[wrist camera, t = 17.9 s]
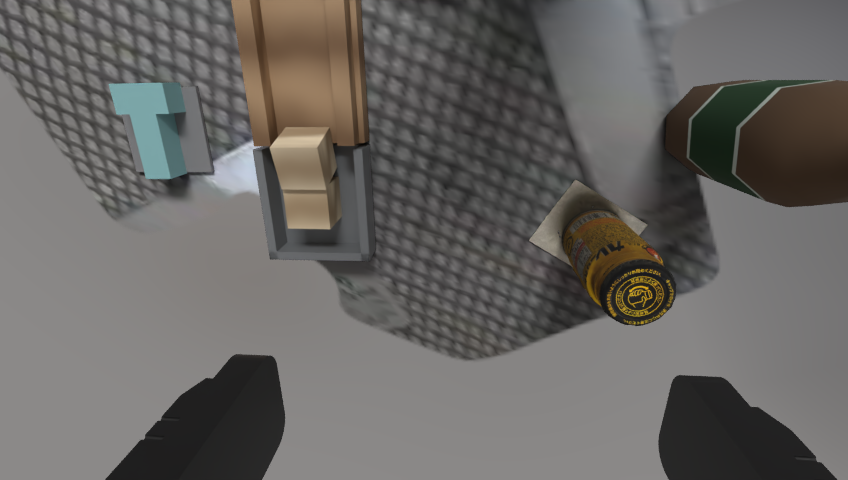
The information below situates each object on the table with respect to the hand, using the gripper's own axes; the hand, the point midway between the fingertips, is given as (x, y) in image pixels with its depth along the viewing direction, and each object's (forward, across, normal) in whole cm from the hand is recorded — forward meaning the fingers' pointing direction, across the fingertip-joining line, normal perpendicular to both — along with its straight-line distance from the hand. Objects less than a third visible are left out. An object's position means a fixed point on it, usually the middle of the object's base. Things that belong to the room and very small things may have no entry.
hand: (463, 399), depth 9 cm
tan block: (+32, +14, +4) cm, 36 cm away
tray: (+33, +14, +5) cm, 36 cm away
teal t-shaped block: (+31, +29, -6) cm, 43 cm away
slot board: (+33, +14, -9) cm, 37 cm away
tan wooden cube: (+31, +14, 0) cm, 34 cm away
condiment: (+33, -12, +8) cm, 36 cm away
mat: (+33, +29, -2) cm, 44 cm away
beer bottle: (+33, -21, -2) cm, 39 cm away
